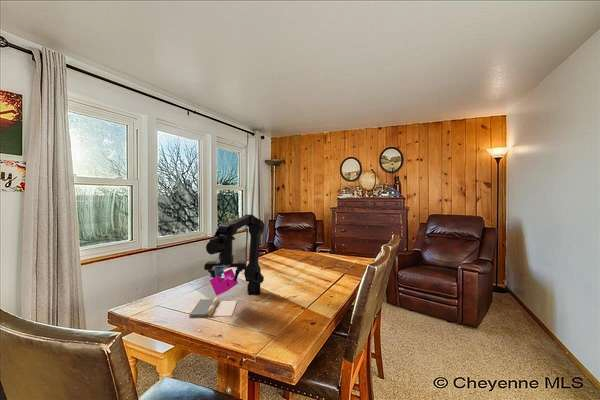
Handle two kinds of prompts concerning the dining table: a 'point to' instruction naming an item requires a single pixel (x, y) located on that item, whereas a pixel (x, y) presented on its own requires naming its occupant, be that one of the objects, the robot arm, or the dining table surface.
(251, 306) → the dining table surface
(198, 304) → the hinge leaf
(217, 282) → the toy block
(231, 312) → the leaf pad
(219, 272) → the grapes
